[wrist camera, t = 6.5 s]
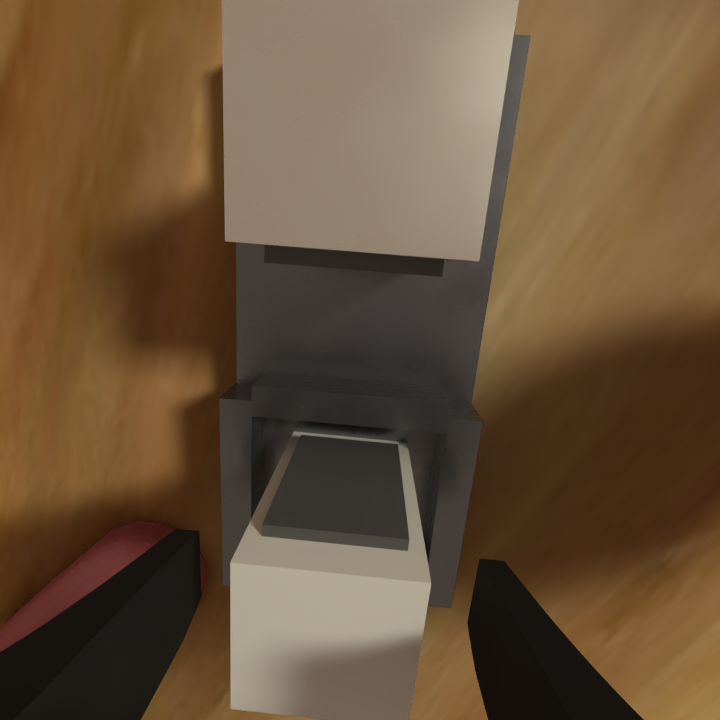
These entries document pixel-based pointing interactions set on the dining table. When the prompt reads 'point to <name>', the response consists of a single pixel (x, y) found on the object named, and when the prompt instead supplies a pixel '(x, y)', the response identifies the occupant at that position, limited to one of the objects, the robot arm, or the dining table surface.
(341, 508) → the block
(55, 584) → the popsicle
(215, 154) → the dining table surface
